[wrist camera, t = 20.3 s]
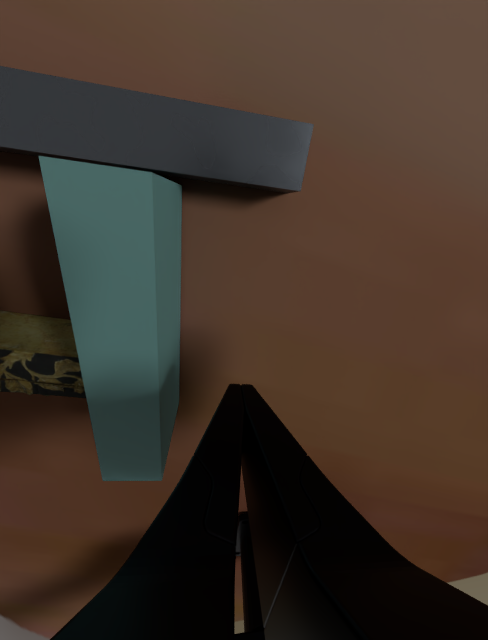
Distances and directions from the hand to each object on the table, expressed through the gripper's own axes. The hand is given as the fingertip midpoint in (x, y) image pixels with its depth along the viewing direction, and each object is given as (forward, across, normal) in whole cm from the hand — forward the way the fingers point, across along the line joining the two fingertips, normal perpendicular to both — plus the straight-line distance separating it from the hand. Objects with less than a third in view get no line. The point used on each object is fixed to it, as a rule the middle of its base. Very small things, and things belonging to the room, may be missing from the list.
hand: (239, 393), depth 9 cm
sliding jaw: (+5, +4, -1) cm, 7 cm away
